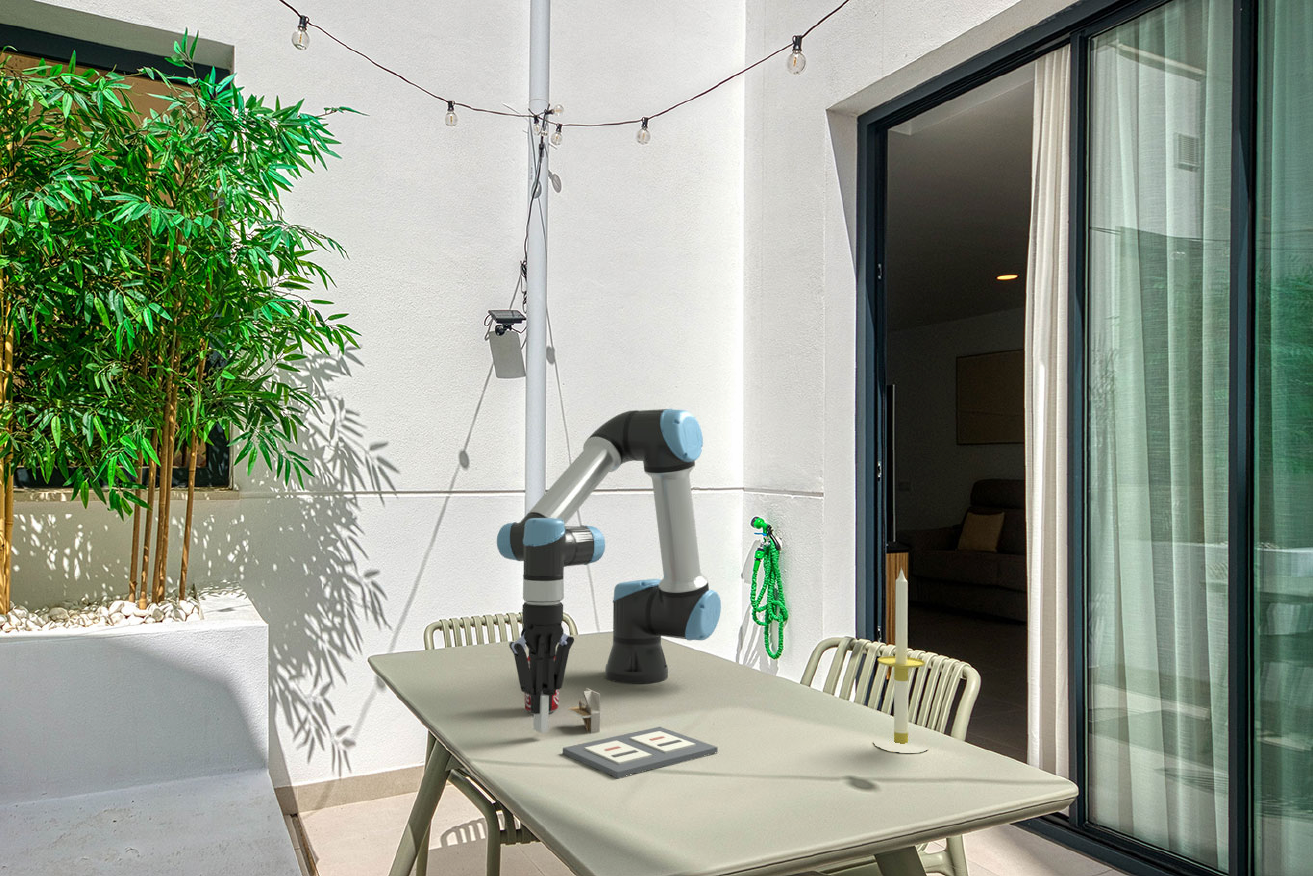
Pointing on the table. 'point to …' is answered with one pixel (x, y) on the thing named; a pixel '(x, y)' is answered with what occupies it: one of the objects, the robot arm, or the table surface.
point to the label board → (638, 751)
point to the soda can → (554, 697)
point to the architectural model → (589, 710)
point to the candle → (901, 663)
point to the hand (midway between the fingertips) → (540, 730)
